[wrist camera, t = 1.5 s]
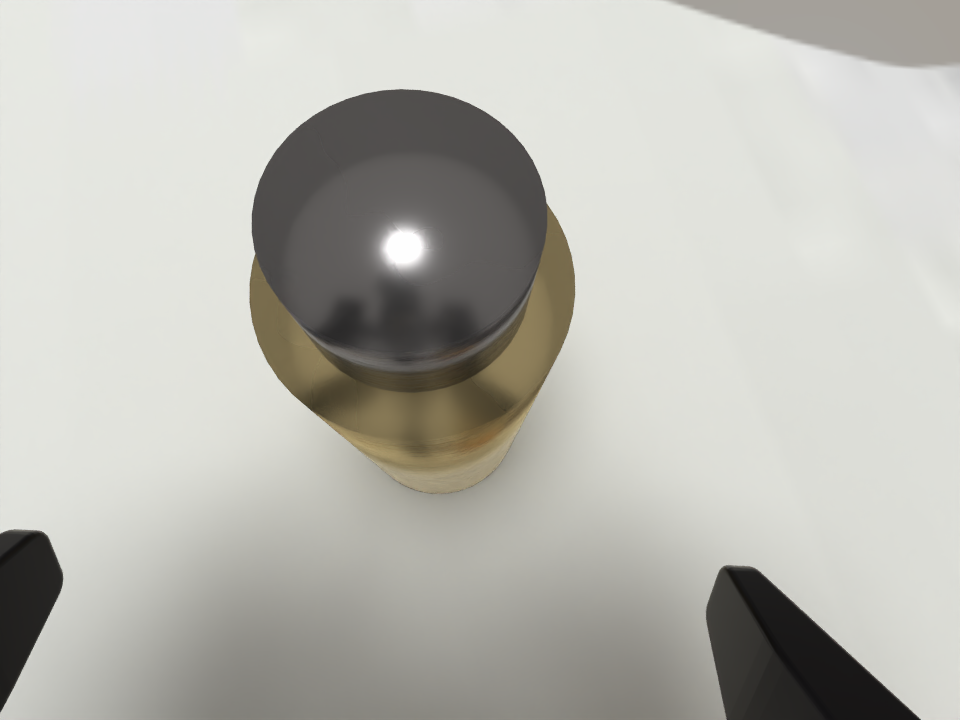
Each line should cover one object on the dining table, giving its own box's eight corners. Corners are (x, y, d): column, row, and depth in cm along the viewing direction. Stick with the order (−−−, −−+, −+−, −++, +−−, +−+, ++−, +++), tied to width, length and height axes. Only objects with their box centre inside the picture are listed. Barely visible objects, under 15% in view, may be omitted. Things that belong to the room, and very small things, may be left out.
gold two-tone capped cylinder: (544, 440, 20) (686, 272, 7) (413, 524, 19) (314, 500, 6) (464, 318, 21) (466, -9, 8) (336, 392, 20) (125, 153, 7)
